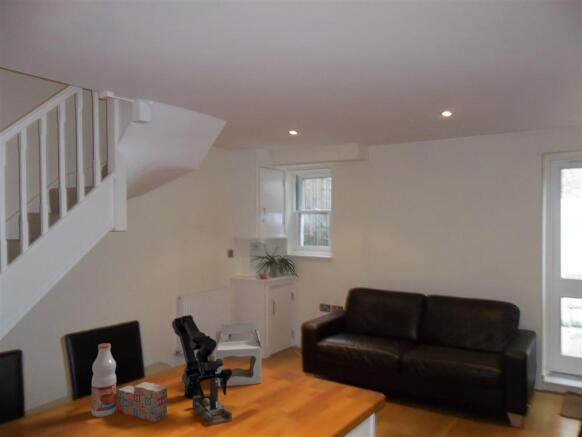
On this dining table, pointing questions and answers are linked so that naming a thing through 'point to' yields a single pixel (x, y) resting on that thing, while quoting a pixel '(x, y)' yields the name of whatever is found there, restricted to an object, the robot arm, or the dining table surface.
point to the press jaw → (214, 399)
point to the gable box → (240, 354)
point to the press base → (212, 420)
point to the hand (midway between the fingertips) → (214, 396)
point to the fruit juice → (103, 383)
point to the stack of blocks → (144, 401)
